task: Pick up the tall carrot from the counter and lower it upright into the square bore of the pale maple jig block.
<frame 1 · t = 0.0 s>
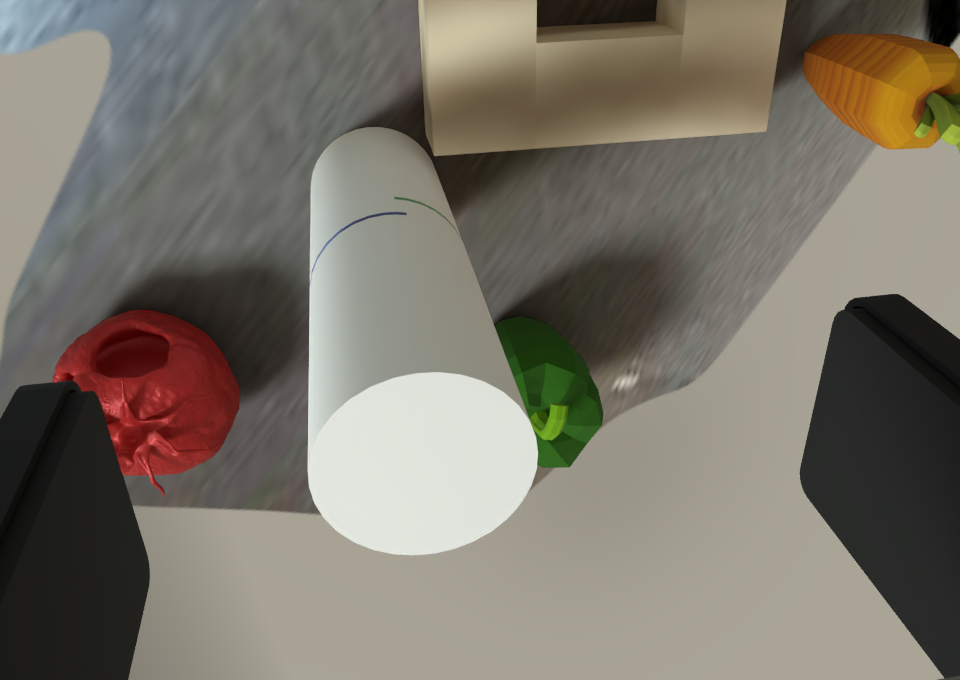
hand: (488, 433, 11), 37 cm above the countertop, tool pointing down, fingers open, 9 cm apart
bell pepper: (513, 353, 54), on the countertop
pomegranate: (157, 363, 51), on the countertop
cylindrical container: (375, 188, 47), on the countertop
carrot: (806, 53, 48), on the countertop
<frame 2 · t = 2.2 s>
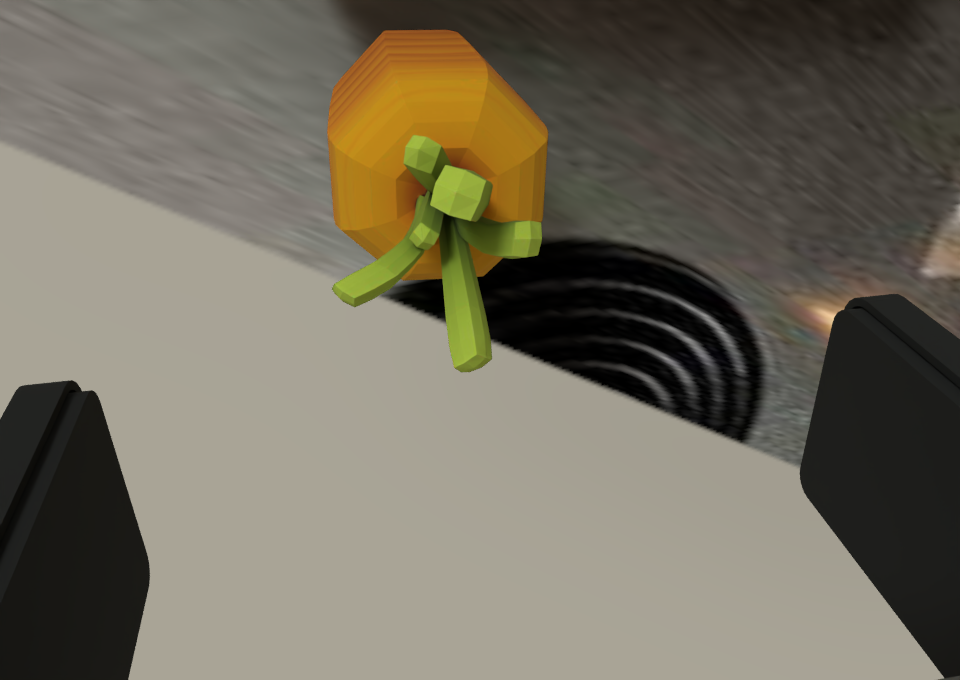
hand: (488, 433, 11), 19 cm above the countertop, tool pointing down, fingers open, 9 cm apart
carrot: (403, 63, 26), on the countertop
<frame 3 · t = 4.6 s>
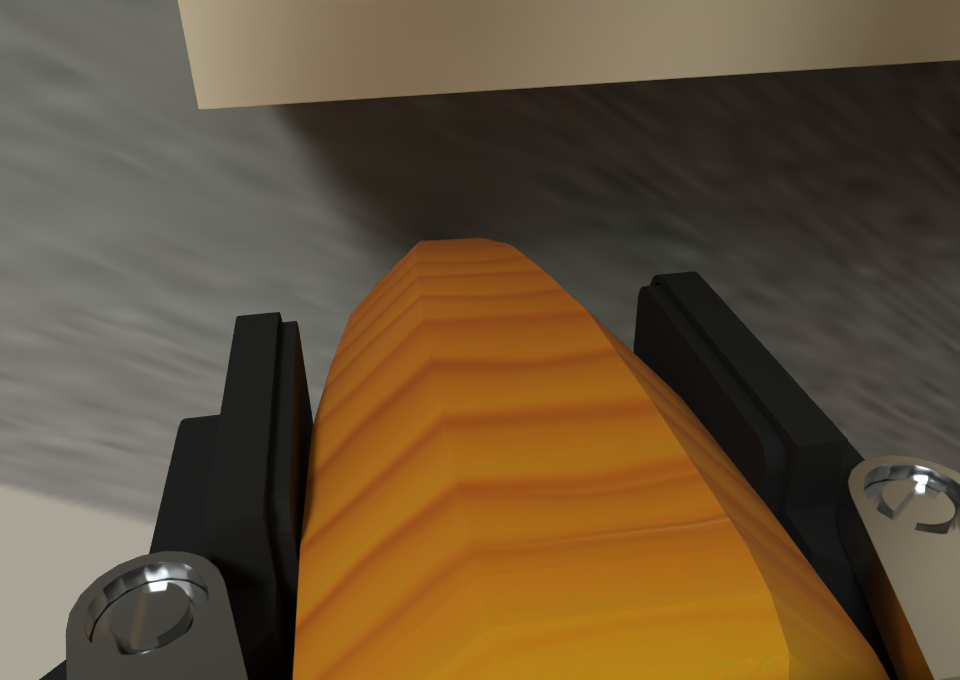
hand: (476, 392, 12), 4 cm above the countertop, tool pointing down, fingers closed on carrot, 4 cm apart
carrot: (435, 255, 15), on the countertop, touching gripper
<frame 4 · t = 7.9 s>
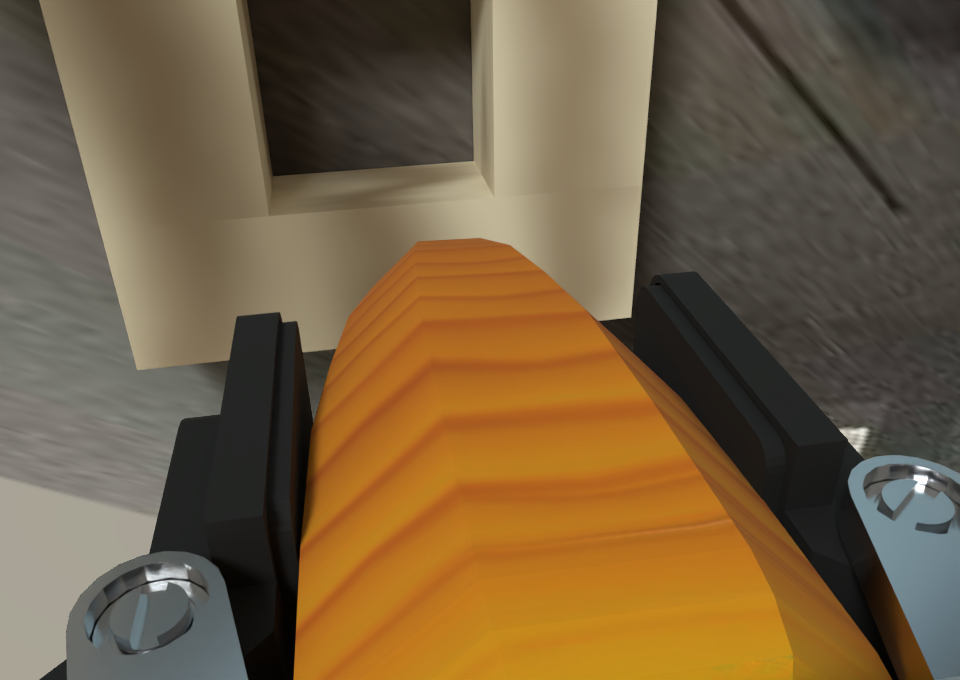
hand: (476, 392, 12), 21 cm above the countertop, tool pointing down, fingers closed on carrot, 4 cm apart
maple jig block: (366, 65, 29), on the countertop
carrot: (433, 255, 15), point 16 cm above the countertop, touching gripper
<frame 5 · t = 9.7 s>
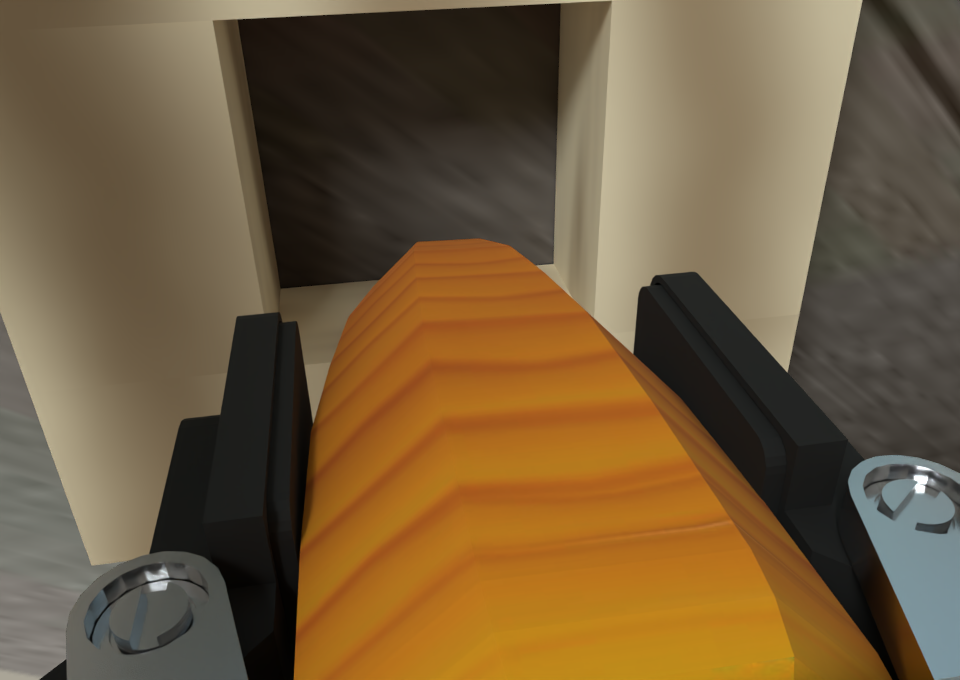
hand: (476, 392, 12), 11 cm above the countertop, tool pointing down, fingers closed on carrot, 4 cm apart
maple jig block: (411, 141, 21), on the countertop
carrot: (433, 256, 15), point 7 cm above the countertop, touching gripper
when the fingers open (6 cm above the countertop, at t = 11.3 s): carrot drops 1 cm, on the countertop.
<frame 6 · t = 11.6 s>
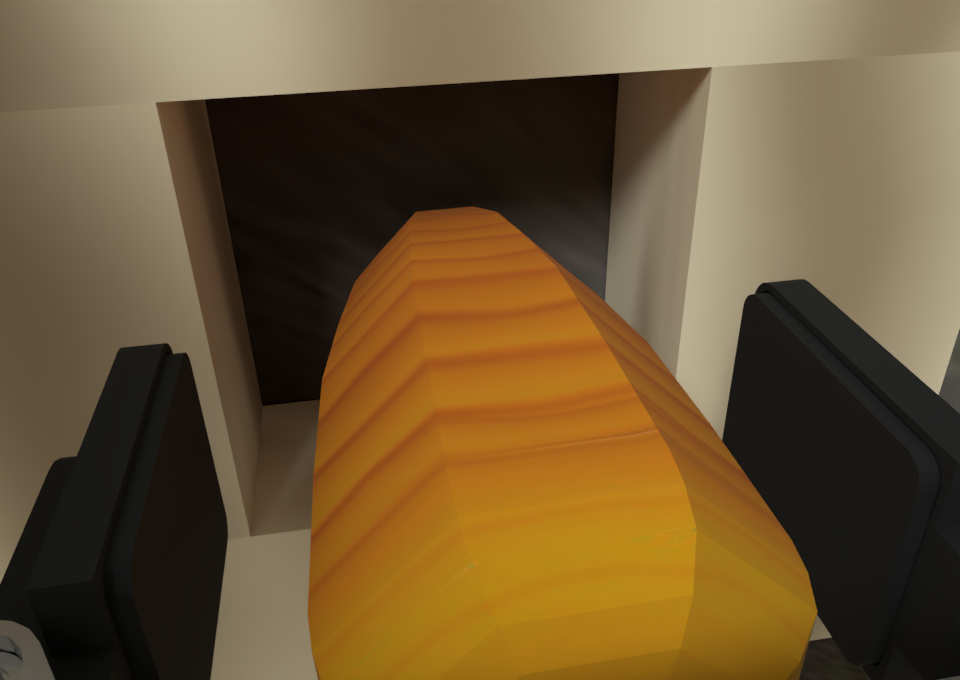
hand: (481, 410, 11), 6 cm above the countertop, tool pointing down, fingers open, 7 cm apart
maple jig block: (427, 228, 16), on the countertop
carrot: (434, 224, 17), on the countertop
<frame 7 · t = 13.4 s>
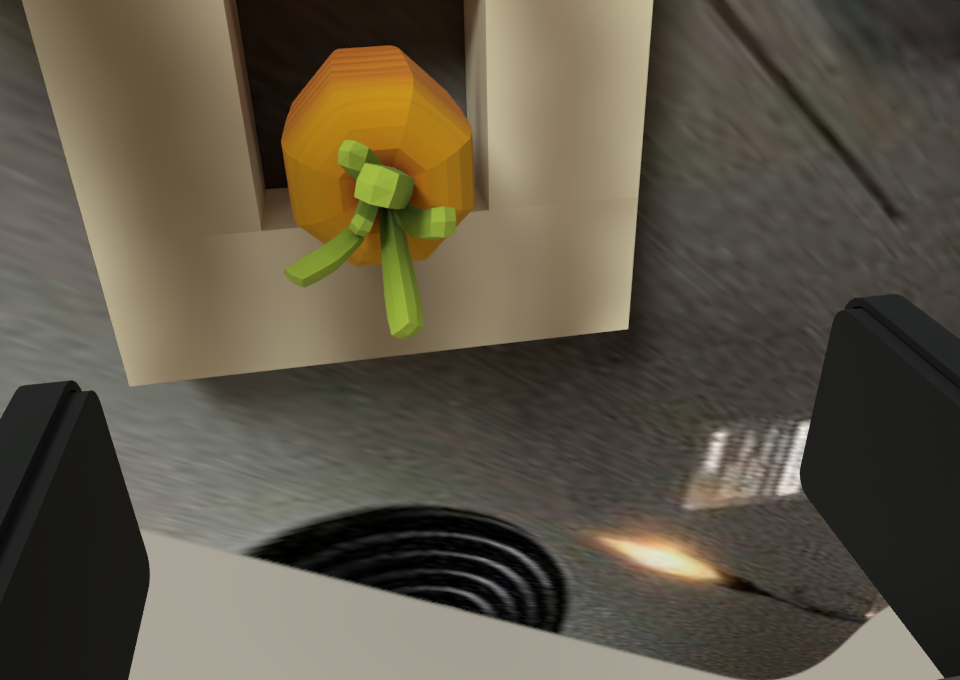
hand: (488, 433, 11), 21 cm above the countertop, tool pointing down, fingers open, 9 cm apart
maple jig block: (359, 77, 29), on the countertop
carrot: (364, 75, 29), on the countertop
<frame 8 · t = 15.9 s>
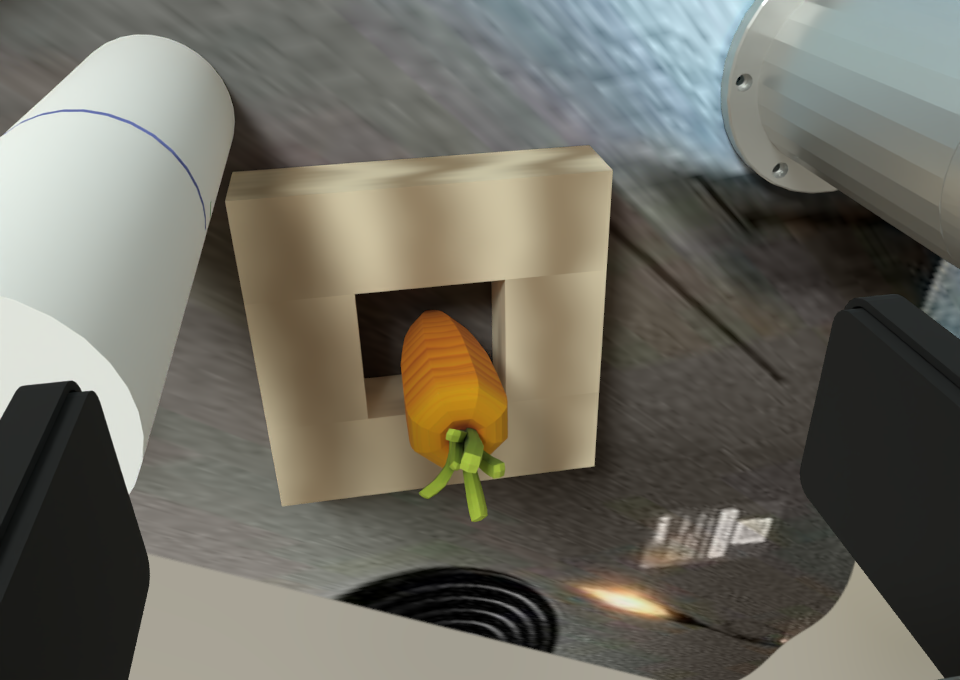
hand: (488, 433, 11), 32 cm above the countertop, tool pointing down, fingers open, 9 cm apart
cylindrical container: (155, 113, 39), on the countertop
maple jig block: (425, 314, 47), on the countertop
carrot: (428, 313, 47), on the countertop
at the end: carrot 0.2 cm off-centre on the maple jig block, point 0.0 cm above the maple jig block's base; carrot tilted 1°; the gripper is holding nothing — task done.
